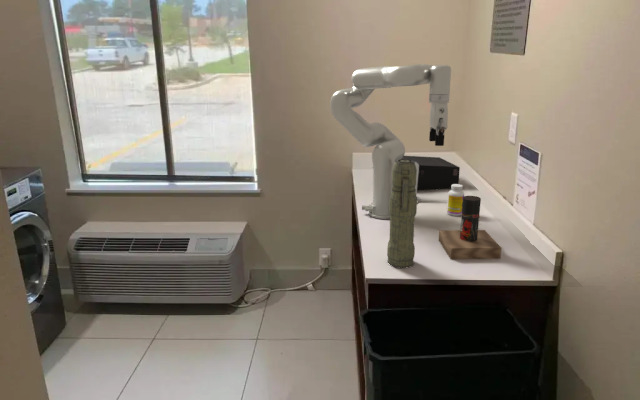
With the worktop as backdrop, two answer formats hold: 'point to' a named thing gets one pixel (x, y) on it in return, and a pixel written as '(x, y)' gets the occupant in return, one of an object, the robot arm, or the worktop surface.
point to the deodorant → (470, 218)
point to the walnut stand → (469, 246)
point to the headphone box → (435, 173)
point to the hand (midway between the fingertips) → (436, 143)
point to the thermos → (402, 214)
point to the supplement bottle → (455, 200)
